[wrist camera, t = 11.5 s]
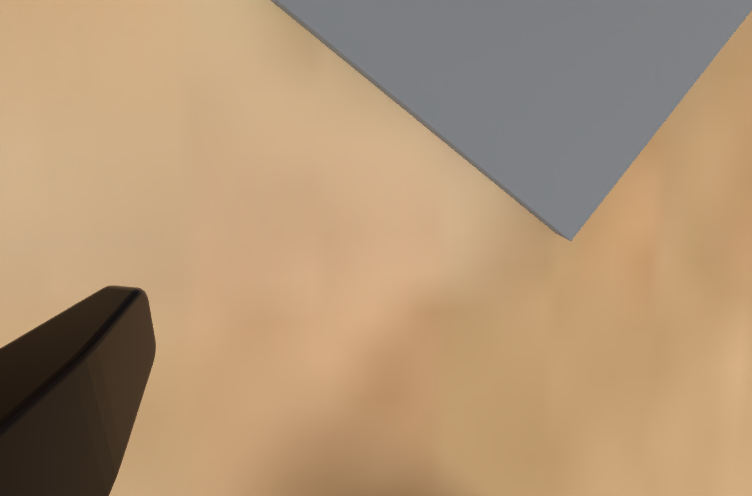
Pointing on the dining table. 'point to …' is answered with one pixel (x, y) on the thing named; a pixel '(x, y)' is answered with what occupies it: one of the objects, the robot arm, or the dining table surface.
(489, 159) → the rubber mat
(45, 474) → the robot arm
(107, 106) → the dining table surface
